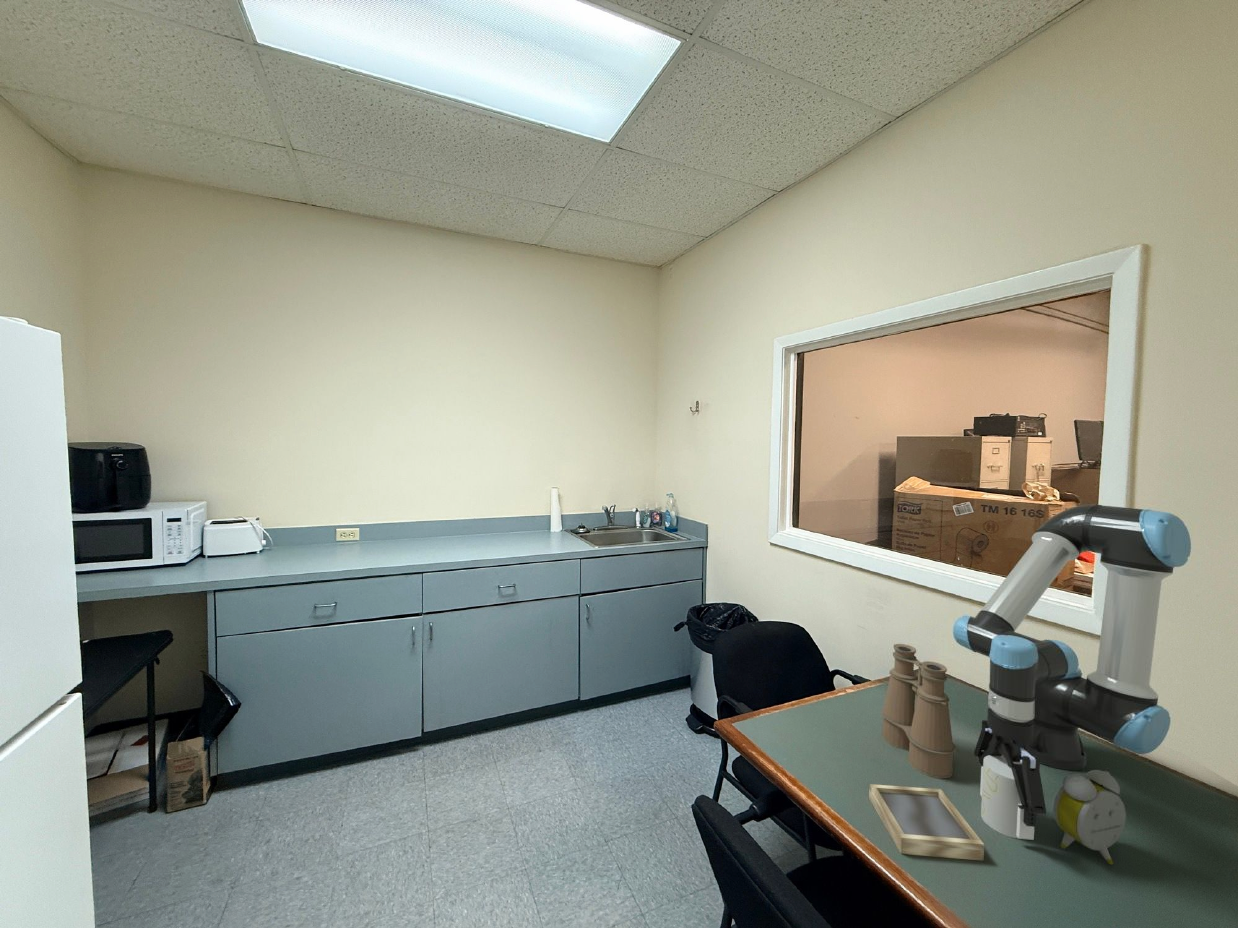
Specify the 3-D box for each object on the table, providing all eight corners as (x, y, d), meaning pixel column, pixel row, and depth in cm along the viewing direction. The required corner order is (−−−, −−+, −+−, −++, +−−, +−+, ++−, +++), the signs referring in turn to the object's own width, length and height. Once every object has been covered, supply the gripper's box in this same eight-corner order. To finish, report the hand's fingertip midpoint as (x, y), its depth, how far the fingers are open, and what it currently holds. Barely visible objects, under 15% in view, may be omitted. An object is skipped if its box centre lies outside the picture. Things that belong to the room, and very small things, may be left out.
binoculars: (964, 778, 118) (969, 674, 117) (925, 780, 117) (929, 676, 116) (906, 727, 138) (909, 639, 137) (872, 729, 137) (875, 640, 136)
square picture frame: (940, 803, 109) (940, 789, 109) (983, 860, 95) (984, 844, 94) (869, 797, 111) (869, 783, 111) (900, 853, 96) (901, 837, 96)
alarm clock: (1093, 832, 102) (1098, 761, 101) (1135, 860, 95) (1140, 784, 94) (1049, 842, 99) (1053, 769, 98) (1089, 871, 92) (1093, 793, 91)
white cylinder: (980, 802, 110) (983, 750, 109) (1028, 819, 105) (1031, 764, 104) (981, 825, 103) (983, 769, 102) (1031, 844, 98) (1034, 786, 98)
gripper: (958, 684, 115) (954, 776, 116) (1032, 746, 92) (1026, 860, 93) (993, 686, 114) (988, 779, 115) (1076, 748, 91) (1069, 864, 92)
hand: (1005, 815), depth 104 cm, fingers open, 11 cm apart
